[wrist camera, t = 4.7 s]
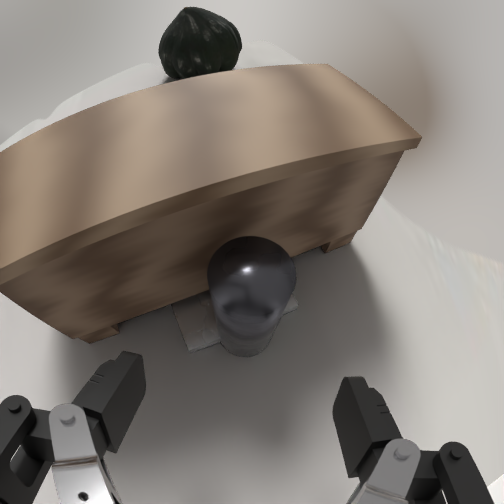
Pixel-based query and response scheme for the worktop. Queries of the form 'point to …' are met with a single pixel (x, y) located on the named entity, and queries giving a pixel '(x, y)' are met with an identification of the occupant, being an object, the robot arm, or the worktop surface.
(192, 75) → the squash
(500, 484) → the milk
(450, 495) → the robot arm
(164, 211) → the cabinet
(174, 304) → the joystick
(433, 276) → the worktop surface
